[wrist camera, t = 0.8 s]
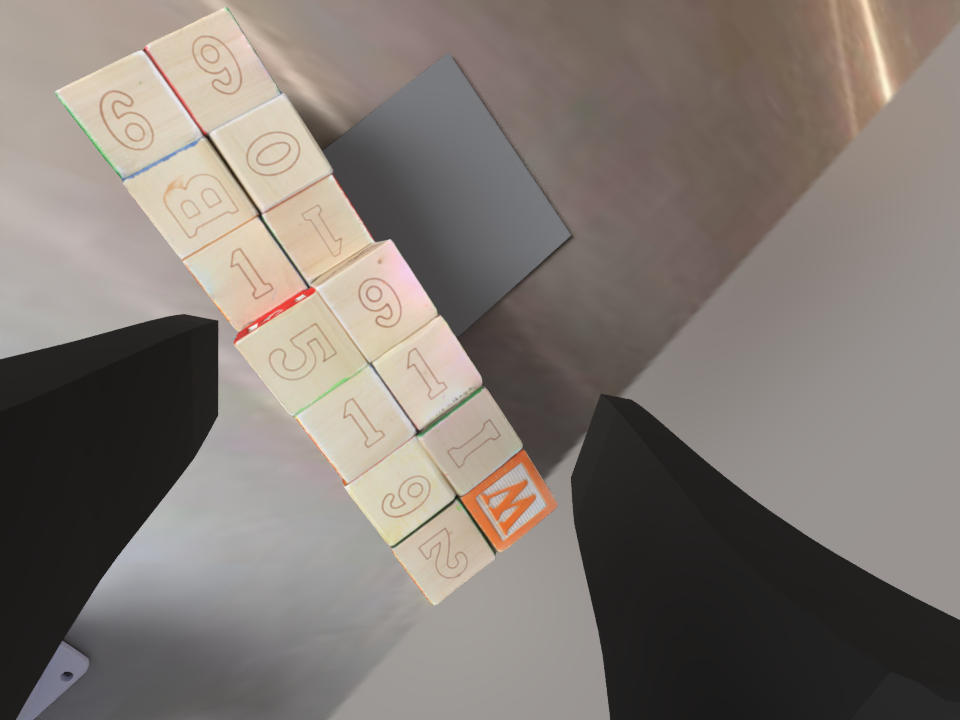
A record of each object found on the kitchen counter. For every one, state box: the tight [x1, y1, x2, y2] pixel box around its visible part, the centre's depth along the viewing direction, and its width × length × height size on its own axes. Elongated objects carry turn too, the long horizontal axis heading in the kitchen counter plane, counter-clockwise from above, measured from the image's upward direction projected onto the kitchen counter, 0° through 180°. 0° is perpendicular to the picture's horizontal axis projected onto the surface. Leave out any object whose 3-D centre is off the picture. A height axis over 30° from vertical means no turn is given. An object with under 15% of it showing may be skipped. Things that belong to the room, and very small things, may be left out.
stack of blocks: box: [55, 7, 558, 605], centre depth 24 cm, size 21×6×12 cm, turn 32°
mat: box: [322, 53, 571, 338], centre depth 31 cm, size 10×12×1 cm
